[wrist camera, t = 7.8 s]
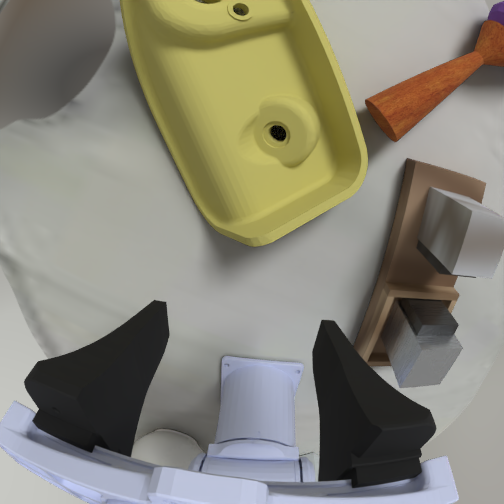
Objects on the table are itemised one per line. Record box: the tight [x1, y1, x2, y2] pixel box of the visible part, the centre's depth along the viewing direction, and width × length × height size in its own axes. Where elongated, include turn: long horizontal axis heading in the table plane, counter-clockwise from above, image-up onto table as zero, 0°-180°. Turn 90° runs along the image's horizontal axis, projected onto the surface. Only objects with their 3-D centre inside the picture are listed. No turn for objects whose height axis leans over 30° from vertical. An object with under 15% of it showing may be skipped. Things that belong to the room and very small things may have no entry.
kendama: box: [365, 1, 504, 142], centre depth 12 cm, size 6×6×20 cm
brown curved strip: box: [131, 429, 204, 469], centre depth 32 cm, size 13×13×11 cm
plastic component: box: [120, 0, 368, 247], centre depth 15 cm, size 20×7×10 cm
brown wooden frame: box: [353, 158, 504, 366], centre depth 19 cm, size 18×7×7 cm, turn 175°
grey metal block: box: [381, 298, 463, 388], centre depth 20 cm, size 5×4×6 cm
